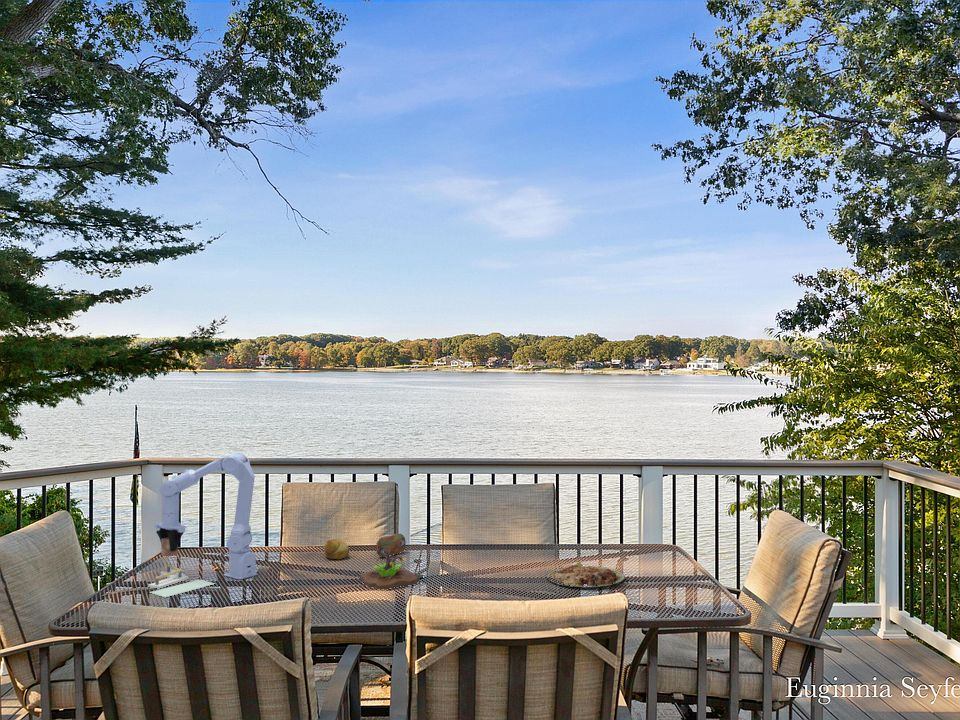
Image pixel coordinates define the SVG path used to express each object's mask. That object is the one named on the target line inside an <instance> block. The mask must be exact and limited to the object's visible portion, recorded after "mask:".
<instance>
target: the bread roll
mask: <svg viewBox="0 0 960 720" xmlns="http://www.w3.org/2000/svg"><path fill="white" fill-rule="evenodd" d="M349 553H350V549H349V545H348V544H347V543H346V542H345V541H343V540H341V539H338V538H336V539H335V538H334V539H329V540H327V541H326V542H325V544H324V556H326V559H329V560H331V559H338V560H342V558H344V559H345V558H346V557H348V555H349Z"/></svg>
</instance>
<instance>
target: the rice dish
mask: <svg viewBox="0 0 960 720" xmlns="http://www.w3.org/2000/svg"><path fill="white" fill-rule="evenodd" d="M558 570H560V571H558ZM555 571H557V572H555ZM553 572H554V573H553ZM551 573H552V574H551ZM550 574H551V575H552V578H554V579H557V580H558V581H560V582H563V583H564V584H565V585H563V584H559V583H556V582H554V581H552V580H551V581H550V582H552V583H554V584H557V585H560V586H565V587H566V586H568V587H578V588H583V589H593V588H600V587H607V586H611V585H614V584H618V583H621V582H622V581H624V580H625V577H626V576H625V574H624V573H623V571H619V570H615V569H613V568H609V567H604V566H602V567H601V566H593V565H587V566H584V565H583V564H582V563H580V562H578V563H575V564H574V565H573V564H572V565H570V566H569V565H568V567H562V568H557V569H554V570H552V571H549V572H548V573H547V576H546V578H547V579H548V578H549V575H550ZM614 581H617V582H614ZM612 583H613V584H612ZM584 584H587V585H589V586H592V587H587V586H586V587H584V586H583V585H584ZM569 585H570V586H569Z"/></svg>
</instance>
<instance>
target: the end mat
mask: <svg viewBox="0 0 960 720" xmlns="http://www.w3.org/2000/svg"><path fill="white" fill-rule="evenodd" d="M214 584H216V583H215V582H211V581H206V580H203V579H196V580H192V581H188V582H184V583H181V584H175V585H171V586H168V587H165V588H162V589H155V590H153V591H149V593H152V594H151V595H153V594H155V595H154V596H156V595H158V596H157V597H159V596H162V597H161V598H163V597H164V598H163V599H167V598H166V597H168V598H171V597H170V596H172V597H175V596H179V595H183V594H186V593H185V592H187V593H190V592H193V591H192V590H194V591H197V590H196V589H198V590H201V589H200V588H202V589H204V588H203V587H205V588H207V587H206V586H209V587H211V586H210V585H213V586H215V585H214ZM189 591H190V592H189ZM182 593H183V594H182ZM178 594H179V595H178ZM174 595H175V596H174Z"/></svg>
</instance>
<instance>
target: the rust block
mask: <svg viewBox="0 0 960 720" xmlns="http://www.w3.org/2000/svg"><path fill="white" fill-rule="evenodd" d="M160 551H161V553H160V554H161V556H163V557H172V556H176V555H179V546H178V547H177V550H176V551H171V550H170V541H169V537H167V538H162V544H161V550H160Z"/></svg>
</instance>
